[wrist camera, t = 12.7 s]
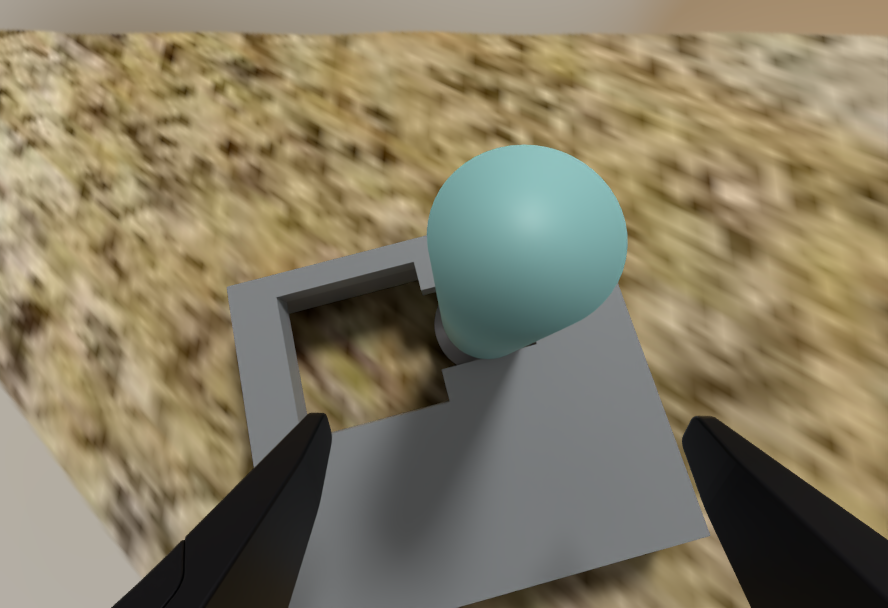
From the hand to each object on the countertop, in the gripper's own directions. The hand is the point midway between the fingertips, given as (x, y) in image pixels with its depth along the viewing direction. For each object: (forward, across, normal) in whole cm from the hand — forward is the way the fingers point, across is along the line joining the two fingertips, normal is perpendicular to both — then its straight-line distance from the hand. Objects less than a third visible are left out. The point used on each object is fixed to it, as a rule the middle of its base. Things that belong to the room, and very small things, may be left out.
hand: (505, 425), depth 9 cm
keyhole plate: (+6, +2, +6) cm, 9 cm away
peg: (+9, 0, +3) cm, 9 cm away
